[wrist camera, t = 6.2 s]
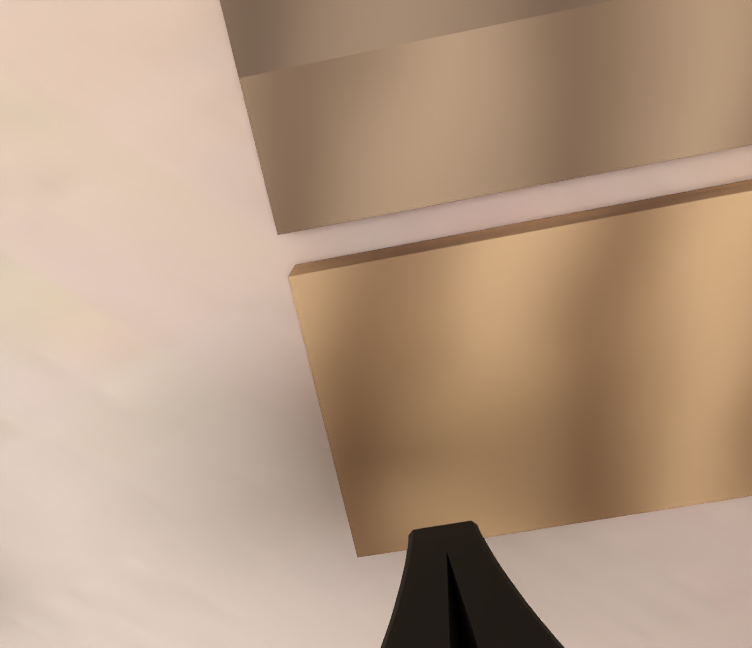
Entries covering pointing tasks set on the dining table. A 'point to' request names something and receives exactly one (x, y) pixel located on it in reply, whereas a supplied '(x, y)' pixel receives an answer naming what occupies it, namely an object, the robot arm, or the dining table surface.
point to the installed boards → (479, 95)
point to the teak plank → (538, 368)
